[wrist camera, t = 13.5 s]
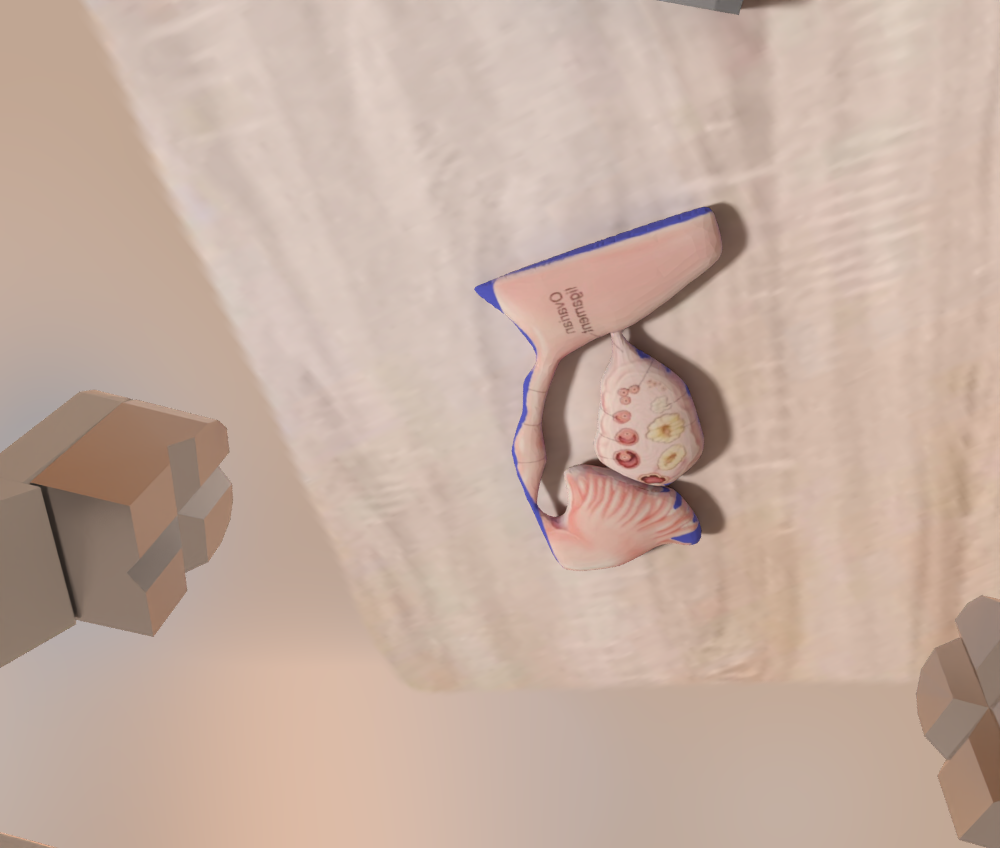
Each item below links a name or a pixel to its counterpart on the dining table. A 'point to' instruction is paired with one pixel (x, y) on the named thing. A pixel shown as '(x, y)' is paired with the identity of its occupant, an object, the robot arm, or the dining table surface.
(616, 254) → the anatomical model
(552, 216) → the dining table surface
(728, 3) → the pin tray
